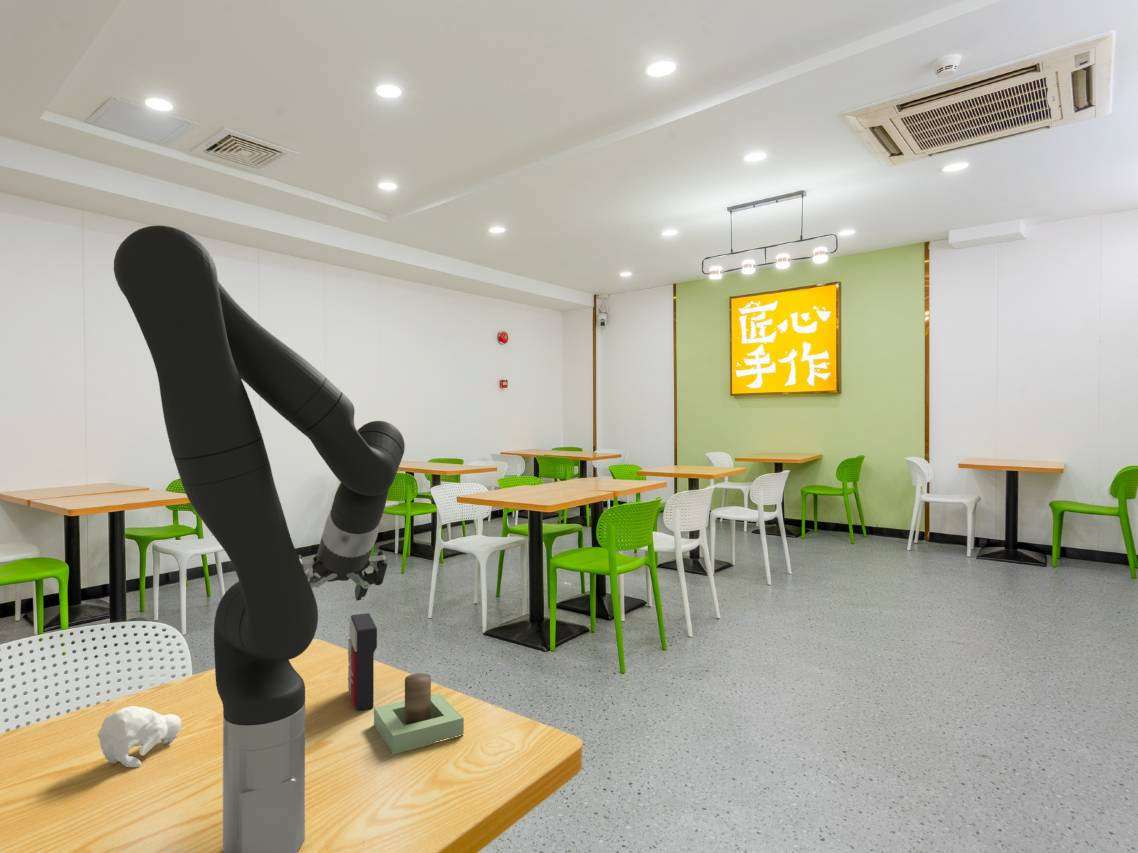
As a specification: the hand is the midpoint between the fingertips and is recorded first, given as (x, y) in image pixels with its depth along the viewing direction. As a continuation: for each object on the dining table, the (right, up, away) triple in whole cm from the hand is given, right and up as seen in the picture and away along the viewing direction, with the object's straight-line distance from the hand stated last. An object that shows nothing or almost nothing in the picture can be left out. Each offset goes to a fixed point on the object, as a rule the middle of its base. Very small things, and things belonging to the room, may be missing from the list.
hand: (330, 598), depth 102 cm
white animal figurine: (-29, -25, -1) cm, 39 cm away
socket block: (+13, -25, +7) cm, 29 cm away
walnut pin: (+13, -25, +7) cm, 29 cm away
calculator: (-1, -25, +19) cm, 32 cm away
